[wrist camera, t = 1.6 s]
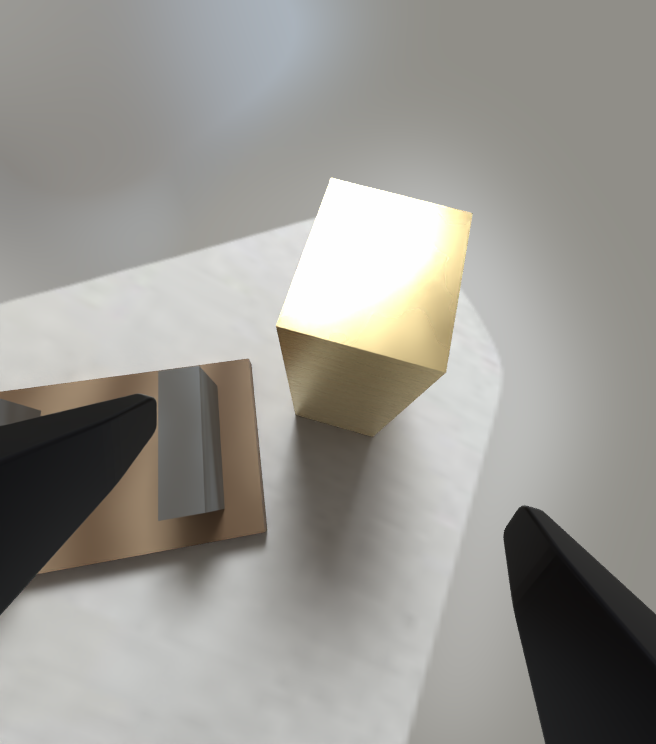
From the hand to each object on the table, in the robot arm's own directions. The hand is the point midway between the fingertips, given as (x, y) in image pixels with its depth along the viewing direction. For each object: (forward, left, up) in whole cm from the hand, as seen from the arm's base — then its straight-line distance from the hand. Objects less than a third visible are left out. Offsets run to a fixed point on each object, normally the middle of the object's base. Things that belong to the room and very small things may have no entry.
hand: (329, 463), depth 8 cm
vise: (+9, +8, -12) cm, 17 cm away
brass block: (+3, -5, -12) cm, 14 cm away
